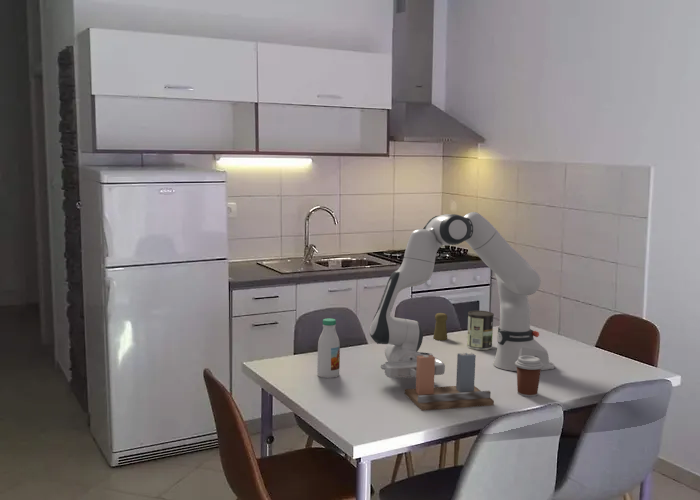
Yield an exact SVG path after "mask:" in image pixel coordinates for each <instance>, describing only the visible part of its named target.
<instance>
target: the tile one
mask: <svg viewBox="0 0 700 500" xmlns="http://www.w3.org/2000/svg"><path fill="white" fill-rule="evenodd" d="M434 371H435V356H434V355H433V356H432V355H422V356H417V369H416V377H415V389H416V393H417V394H418V395H425V394H434V387H435V375H434Z"/></svg>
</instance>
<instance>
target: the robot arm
mask: <svg viewBox="0 0 700 500" xmlns="http://www.w3.org/2000/svg"><path fill="white" fill-rule="evenodd" d="M464 242H466V243H467V245H468V246H469V248H471V249H472V250H473V251H474V252H475V254H476V255H477V256H478V258H479V259H480V260H482V262H483V263H484V264H485V265H486V266H487V267H488V268H489V269H490V270H491V271H492V272H493V273H494V274H495V279H496V282H497V291H498V298H499V299H498V300H499V326H498V327H497V329H498V330H497V347H496V353H495V357H494V360H493V362H492V365H493V366H494V367H496V368H498V369H501V370H506V371H512V372H513V371H514V372H517V367H516V366H515V362H516V361H517V360H518V358H519V357H520V356H534V357H538V358H539V359H540V362H541V363H542V364H543V368H542V369H541V371H547V370H554V369H555V366H556V365H555V364H554V362H553V361H550V359H549V353H548V351H547V349H546V348H545V347H544V346H543V345H542V344H541V343H539V342H538V341H537V340H536V339H535V338H538V337H539V336H540V332H539V331H537V330H533V329H531V313H532V310H531V309H532V307H531V305H530V303H529V298H528V297H529V296H530V295H534V294H535V293H536V292H538V290H539V288H540V287H541V282H542V281H541V277H540V274H539V273H538V272H537V271H536V269H534V268H533V266H532V265H531V264H530V263H529V262H528V261H527V260H526V259H525V258H524V257H523V256H522V255H520V253H519V252H518V251H516V249H515V248H513V247H512V246H511V244H510V243H509V242H508V241H507V240H506V239H505V238H504V237H503V235H501V233H500V232H499V231H498V230H497V228H496V227H494V225H493V224H492V223H491V222H490V221H489V220H487V218H485V217H484V216H483V215H482V214H480V213H478V212H476V211H475V212H474V211H471V212H468V213H466V214H465V215H464V216H463V215H459V214H455V213H454V214H453V213H452V214H450V213H445V214H441V215H435V216H433V217H432V218H430V219H429V220H428V221H427V223H426V224H425V226H424V227H423V228H417V229H415V230H413V231H412V232H411V233H410V236H409V237H408V239H407V244H406V247H405V249H404V250H405V251H404V255H403V259H402V263H401V265H400V266H399V268H398V269H397V270H394V271H393V272H392V273H391V274H390V276H389V278H388V280H387V282H386V285H385V288H384V292H383V294H382V297H381V300H380V302H379V304H378V307H377V310H376V313H375V314H374V316H373V319H372V321H371V323H370V327H369V336H370V337H371V339H372V340H373V341H374V343H376V344H377V345H386V346H385V348H384V357H385V359H386V360H387V361H386V362H384V363H383V364H381V365H380V368H381V369H382V370H383V371H384V375H385V376H386V377H387V378H389V379H391V378H392V379H394V378H412V377H414V378H416V369H417V356H422V355H432V356H434V354H433V353H431V352H421V351H420V352H419V350H420V348H421V346H422V344H423V338H424V331H423V328H422V326H421V325H420V323H419V322H418V321H417V320H412V319H409V318H408V319H407V318H401V317H395V316H394V317H393V316H391V313H392V311H393V308H394V305H395V302H396V299H397V296H398V295H399V293H400V292H401V291H402V290H405V289H408V288H412V287H417V286H420V285H423V284H424V283H427V281H429V280H430V278H432V276H433V272H434V268H435V262H436V257H437V252H438V251H439V249H440V247H441V246H456V245H459V244H462V243H464ZM534 337H535V338H534ZM434 357H435V356H434ZM445 368H446V365H445V362H444V361H442V360H441V359H439V358H438V357H435V371H434V376H440V375H442V376H443V375H444V374H445V371H446V369H445Z"/></svg>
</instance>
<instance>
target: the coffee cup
mask: <svg viewBox="0 0 700 500" xmlns="http://www.w3.org/2000/svg"><path fill="white" fill-rule="evenodd" d="M515 366H516V367H517V371H516V385H517V388H516V389H517V394H518V395H519V396H522V397H525V398H526V397H527V398H533V397H537V396H538V394H539V384H540V380H541V379H540V378H541V371H542V370H541V369H542V368H543V364H542V363H541V362H540V359H539V358H538V357H534V356H520V357H519V358H518V360H517V361H516V362H515Z"/></svg>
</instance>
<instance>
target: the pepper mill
mask: <svg viewBox="0 0 700 500" xmlns="http://www.w3.org/2000/svg"><path fill="white" fill-rule="evenodd" d="M434 320H435V325H434V332H433V338H432V339H433V340H434V339H435V341H439V340H440V342H441V341H442V342H443V341H447V340H448V332H447V331H448V329H447V320H448V315H447V313H443V312H437V313H435V316H434Z"/></svg>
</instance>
